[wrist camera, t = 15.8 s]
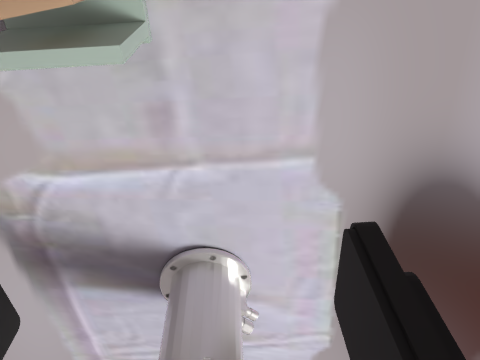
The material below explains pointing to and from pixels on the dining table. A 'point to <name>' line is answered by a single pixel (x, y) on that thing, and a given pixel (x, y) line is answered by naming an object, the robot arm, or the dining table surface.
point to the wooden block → (30, 6)
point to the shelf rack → (75, 35)
